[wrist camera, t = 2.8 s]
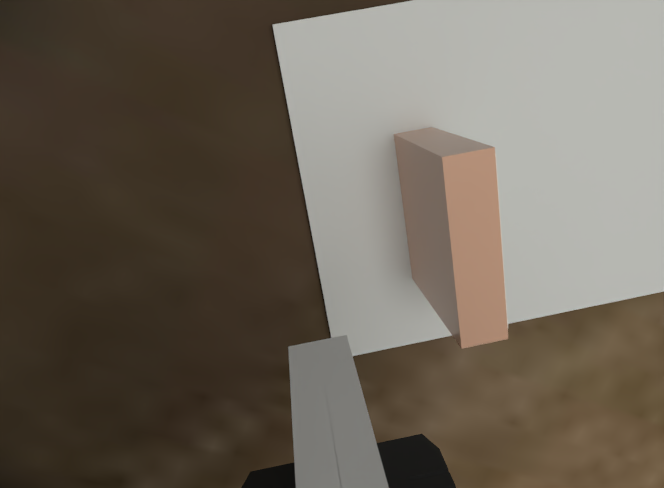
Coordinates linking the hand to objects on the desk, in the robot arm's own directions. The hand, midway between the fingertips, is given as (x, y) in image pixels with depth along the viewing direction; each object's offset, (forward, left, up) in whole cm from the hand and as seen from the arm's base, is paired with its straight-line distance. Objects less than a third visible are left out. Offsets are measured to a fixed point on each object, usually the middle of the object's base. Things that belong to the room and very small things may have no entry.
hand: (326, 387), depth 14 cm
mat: (+11, +1, -16) cm, 19 cm away
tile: (+7, 0, -15) cm, 16 cm away
